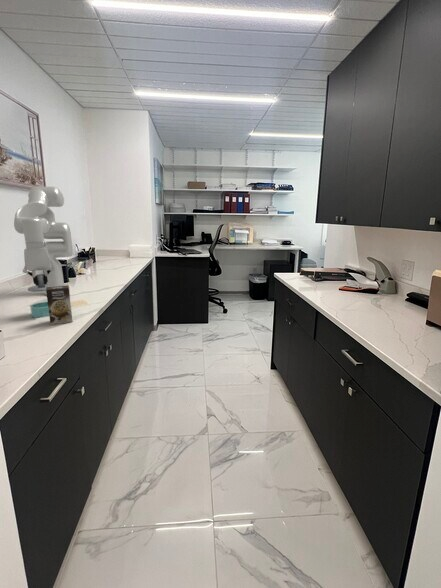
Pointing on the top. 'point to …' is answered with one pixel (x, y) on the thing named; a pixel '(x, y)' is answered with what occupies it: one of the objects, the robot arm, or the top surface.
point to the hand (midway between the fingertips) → (41, 284)
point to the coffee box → (59, 304)
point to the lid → (39, 284)
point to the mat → (78, 303)
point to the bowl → (39, 309)
